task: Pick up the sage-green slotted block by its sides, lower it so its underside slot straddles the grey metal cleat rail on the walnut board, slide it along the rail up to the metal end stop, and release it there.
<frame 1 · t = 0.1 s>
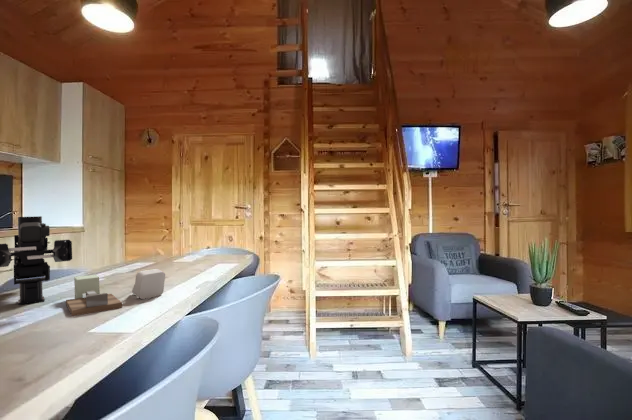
hand: (32, 255, 97), 17 cm above the table, tool horizontal, fingers open, 9 cm apart
grey rounded block piece: (144, 296, 121), on the table
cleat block: (87, 298, 118), on the table
cleat board: (93, 306, 108), on the table
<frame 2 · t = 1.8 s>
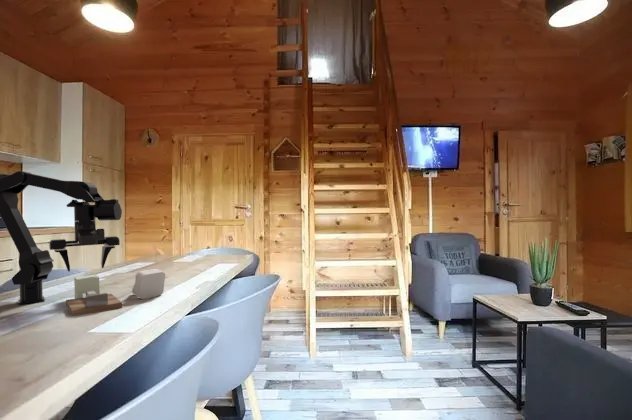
hand: (86, 269, 118), 9 cm above the table, tool pointing down, fingers open, 9 cm apart
nothing on the table moved.
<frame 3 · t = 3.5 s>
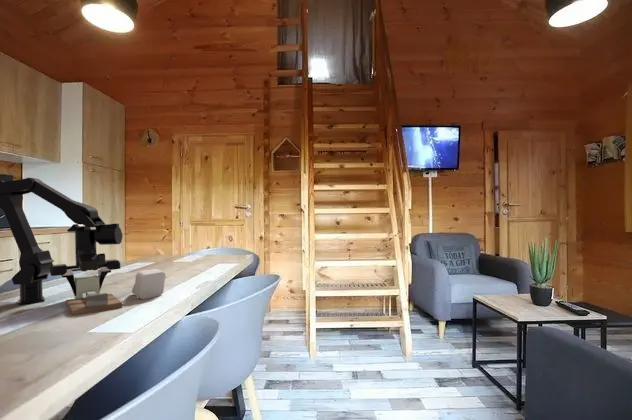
hand: (87, 294, 118), 2 cm above the table, tool pointing down, fingers closed on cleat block, 6 cm apart
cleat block: (87, 298, 118), on the table, touching gripper
everything else where it was.
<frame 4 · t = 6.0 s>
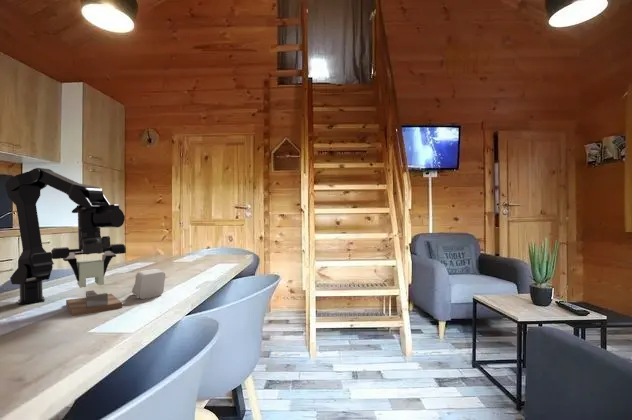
hand: (90, 279, 112), 7 cm above the table, tool pointing down, fingers closed on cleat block, 6 cm apart
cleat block: (90, 284, 112), point 6 cm above the table, touching gripper
everything else where it was.
when the fingers open (4 cm above the table, at t = 8.7 s): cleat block stays where it is, resting on cleat board.
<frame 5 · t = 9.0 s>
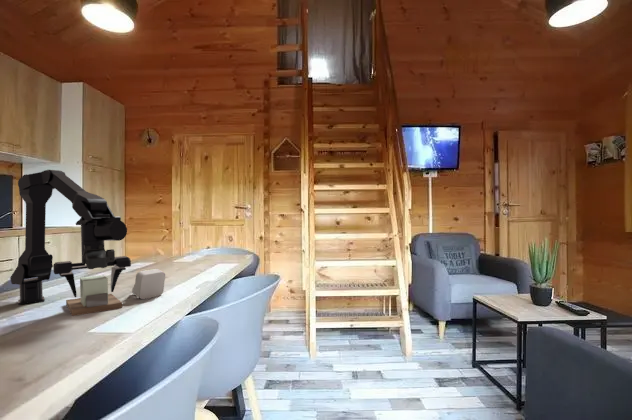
hand: (94, 294, 107), 4 cm above the table, tool pointing down, fingers open, 9 cm apart
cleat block: (94, 302, 107), point 1 cm above the table, touching cleat board
everything else where it was.
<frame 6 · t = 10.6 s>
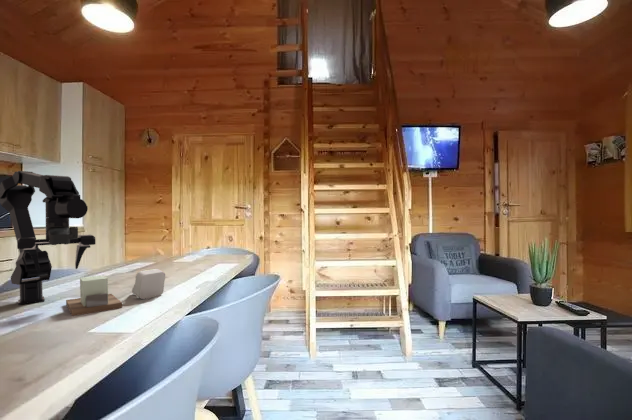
hand: (58, 270, 110), 11 cm above the table, tool pointing down, fingers open, 9 cm apart
nothing on the table moved.
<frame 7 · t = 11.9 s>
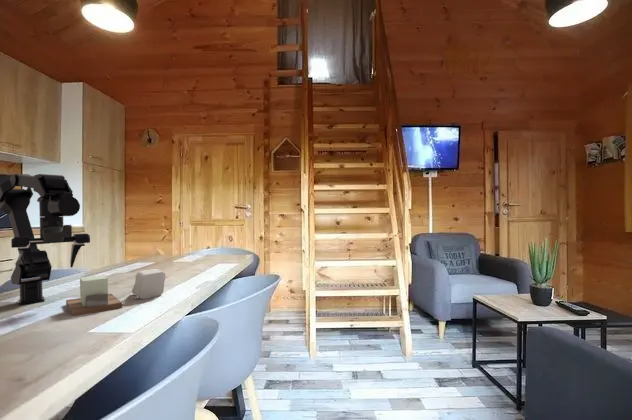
hand: (52, 269, 110), 11 cm above the table, tool pointing down, fingers open, 9 cm apart
nothing on the table moved.
at the end: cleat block 0.1 cm from the target spot on the cleat board, point 1.5 cm above the cleat board's base; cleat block tilted 0°; the gripper is holding nothing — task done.
